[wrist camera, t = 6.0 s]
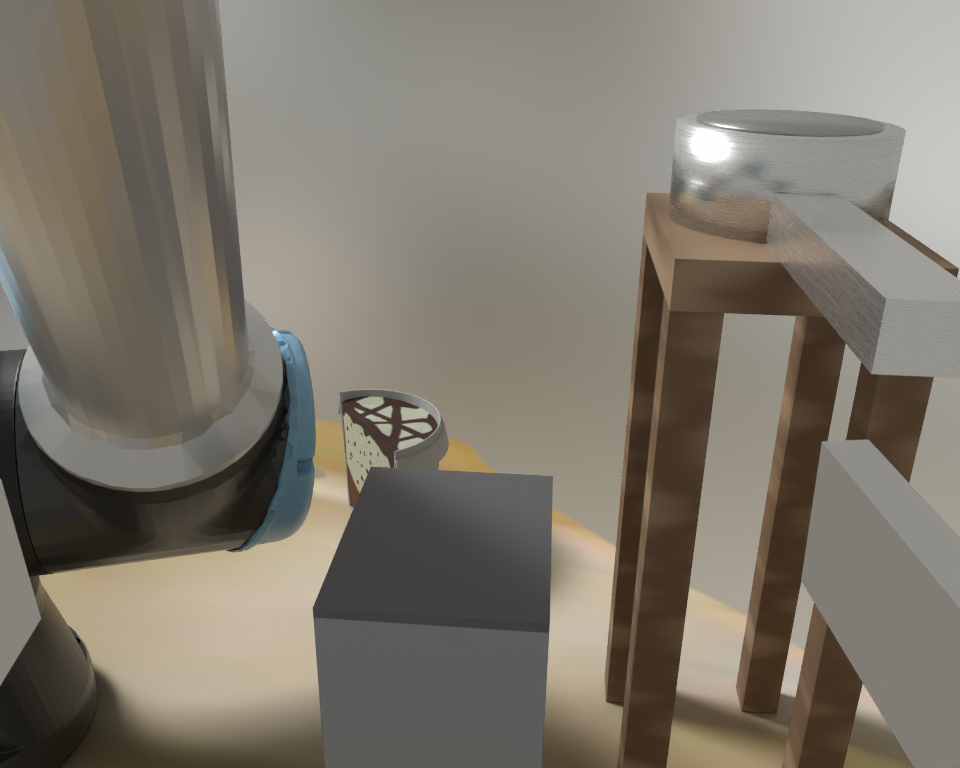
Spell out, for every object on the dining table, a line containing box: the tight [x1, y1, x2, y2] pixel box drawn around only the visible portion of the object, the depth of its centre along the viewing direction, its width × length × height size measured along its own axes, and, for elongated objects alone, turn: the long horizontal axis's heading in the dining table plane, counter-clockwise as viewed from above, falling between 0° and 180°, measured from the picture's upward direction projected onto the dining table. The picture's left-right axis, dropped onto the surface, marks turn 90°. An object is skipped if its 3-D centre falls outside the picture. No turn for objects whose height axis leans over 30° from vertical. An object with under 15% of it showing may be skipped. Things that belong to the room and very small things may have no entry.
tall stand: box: [605, 193, 959, 768], centre depth 44 cm, size 10×12×30 cm
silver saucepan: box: [668, 110, 960, 378], centre depth 32 cm, size 9×22×4 cm, turn 175°
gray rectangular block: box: [313, 467, 553, 768], centre depth 39 cm, size 8×10×20 cm
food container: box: [338, 389, 449, 511], centre depth 69 cm, size 12×6×10 cm, turn 28°
